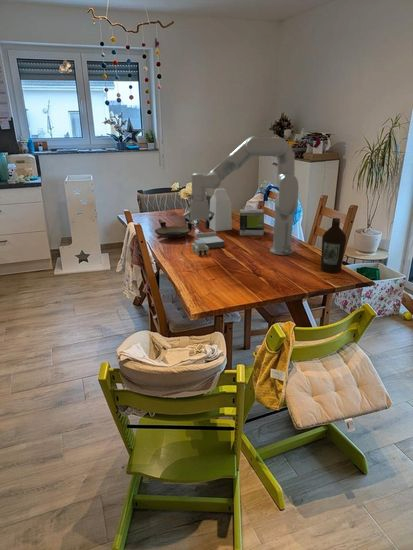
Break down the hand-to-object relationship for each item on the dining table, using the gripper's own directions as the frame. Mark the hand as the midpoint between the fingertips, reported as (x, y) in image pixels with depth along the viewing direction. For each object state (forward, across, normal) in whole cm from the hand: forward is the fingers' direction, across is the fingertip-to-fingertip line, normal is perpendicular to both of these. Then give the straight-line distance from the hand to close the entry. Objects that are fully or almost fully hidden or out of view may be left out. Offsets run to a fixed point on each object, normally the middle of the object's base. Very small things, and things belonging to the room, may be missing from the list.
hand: (198, 229), depth 211 cm
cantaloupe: (+13, +32, +81) cm, 88 cm away
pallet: (+13, +1, 0) cm, 13 cm away
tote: (+9, +1, 0) cm, 9 cm away
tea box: (+12, +43, +24) cm, 50 cm away
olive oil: (+12, +51, -48) cm, 71 cm away
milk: (+13, +29, +43) cm, 53 cm away
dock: (+13, +11, +12) cm, 20 cm away
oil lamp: (+14, -5, +37) cm, 39 cm away
